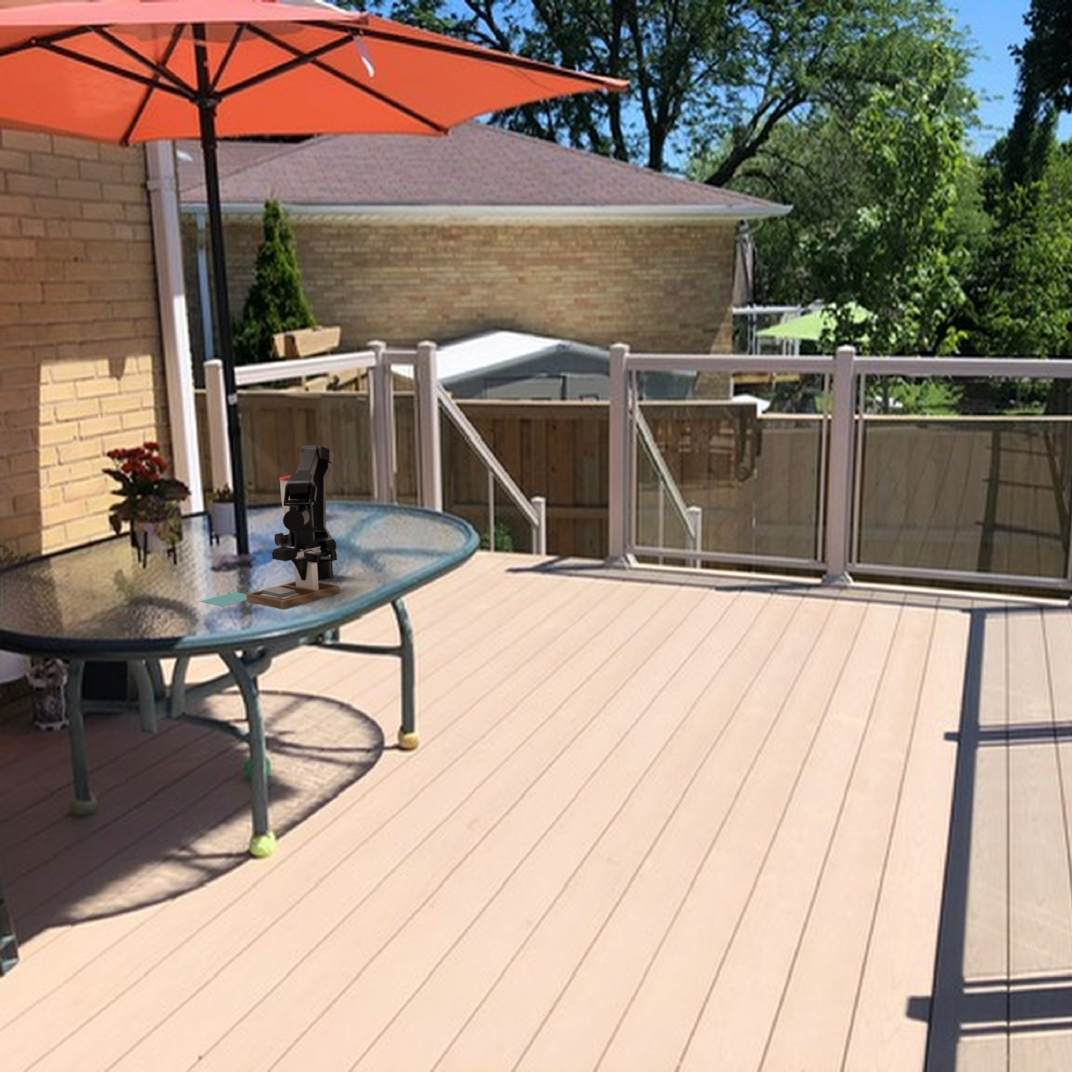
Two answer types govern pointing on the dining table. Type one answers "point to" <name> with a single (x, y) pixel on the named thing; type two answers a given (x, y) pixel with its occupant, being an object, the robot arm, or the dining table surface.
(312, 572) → the beige rectangular block
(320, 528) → the robot arm
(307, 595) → the wooden divided tray
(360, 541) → the dining table surface
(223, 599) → the mat
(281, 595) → the offcut stack
